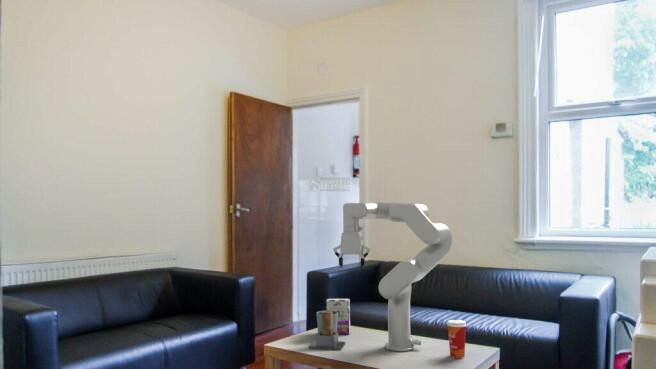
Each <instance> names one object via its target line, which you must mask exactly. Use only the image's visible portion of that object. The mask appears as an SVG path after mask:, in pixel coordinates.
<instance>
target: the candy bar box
mask: <svg viewBox="0 0 656 369" xmlns="http://www.w3.org/2000/svg"><path fill="white" fill-rule="evenodd" d="M350 302H351V299H350V298H327V299H326V300H325V308H326V309H325V311H336V312H338V321H337V322H338V323H337V332H338V336H340V335H342V336H343V335H345V336H346V335H347V336H349V335H350V334H351V306H350V304H351V303H350Z"/></svg>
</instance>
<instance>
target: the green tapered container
mask: <svg viewBox="0 0 656 369" xmlns="http://www.w3.org/2000/svg"><path fill="white" fill-rule="evenodd" d="M323 311H324V310H320V311H319V310H318V311H317V312H316V323H317V324H316V325H317V334H318V333H319V332H320V331H322V312H323ZM337 321H338V312H336V311H333V332H337V323H338V322H337Z"/></svg>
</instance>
